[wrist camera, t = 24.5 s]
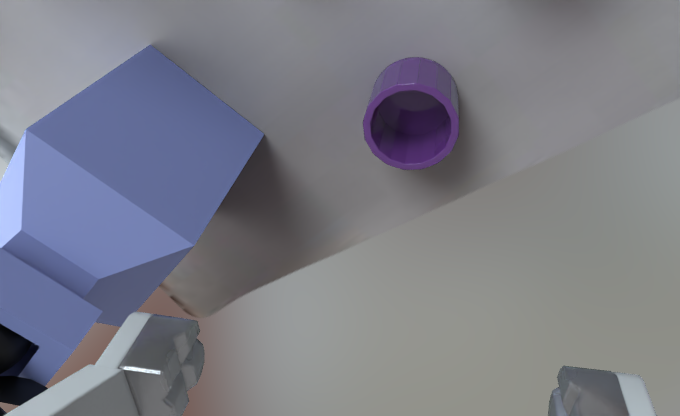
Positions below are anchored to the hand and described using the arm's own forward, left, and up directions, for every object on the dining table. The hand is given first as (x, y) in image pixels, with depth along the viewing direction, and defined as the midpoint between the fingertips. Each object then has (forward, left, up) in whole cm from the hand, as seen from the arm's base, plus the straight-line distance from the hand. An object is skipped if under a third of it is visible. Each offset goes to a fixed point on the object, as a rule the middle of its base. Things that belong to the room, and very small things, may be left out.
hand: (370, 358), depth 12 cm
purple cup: (+3, +5, -29) cm, 30 cm away
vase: (+22, -1, -29) cm, 37 cm away
